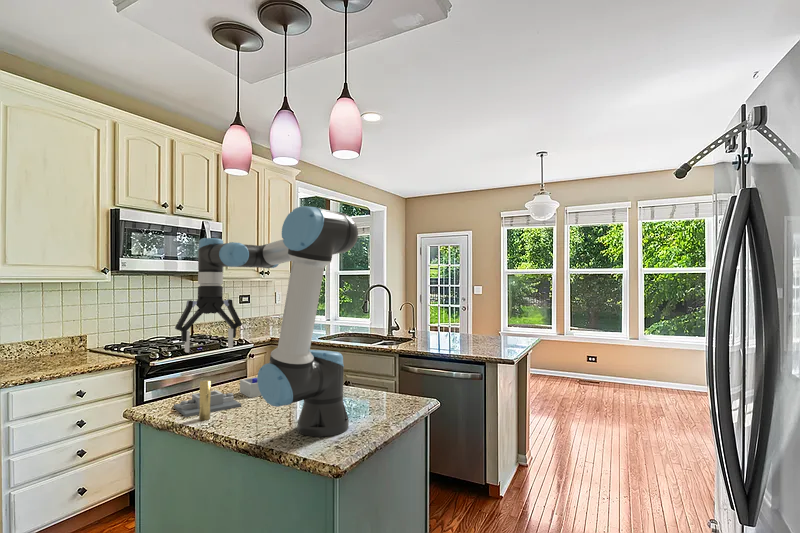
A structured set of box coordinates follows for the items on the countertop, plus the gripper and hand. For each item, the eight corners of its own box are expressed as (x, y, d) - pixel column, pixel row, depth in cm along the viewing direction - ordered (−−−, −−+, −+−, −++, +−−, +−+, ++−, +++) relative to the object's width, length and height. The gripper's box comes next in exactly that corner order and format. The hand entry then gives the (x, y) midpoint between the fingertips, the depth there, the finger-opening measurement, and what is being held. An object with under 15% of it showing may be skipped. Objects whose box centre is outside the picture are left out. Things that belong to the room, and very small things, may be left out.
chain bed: (240, 406, 150) (241, 393, 150) (185, 417, 138) (185, 403, 138) (226, 398, 161) (226, 386, 161) (173, 407, 149) (174, 394, 149)
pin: (211, 419, 136) (212, 381, 137) (201, 421, 134) (201, 382, 135) (208, 416, 139) (209, 379, 139) (197, 418, 137) (198, 381, 137)
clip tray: (293, 389, 174) (293, 377, 174) (250, 397, 162) (250, 384, 162) (282, 385, 181) (282, 373, 181) (239, 392, 169) (239, 379, 169)
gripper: (243, 285, 152) (243, 345, 152) (165, 285, 136) (164, 352, 135) (252, 285, 147) (251, 347, 146) (171, 285, 131) (169, 355, 130)
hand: (209, 350), depth 141 cm, fingers open, 13 cm apart
